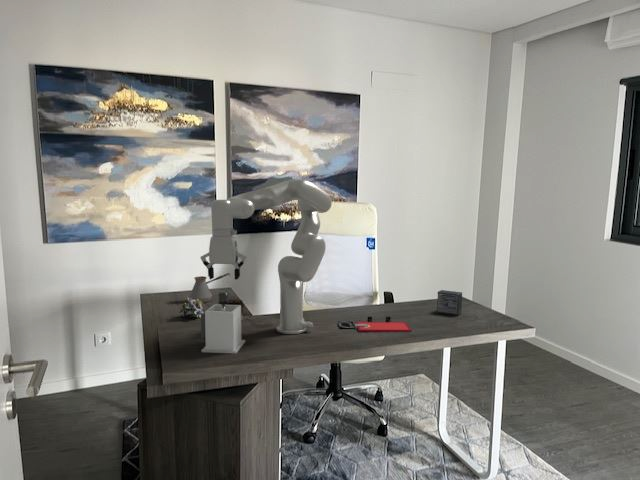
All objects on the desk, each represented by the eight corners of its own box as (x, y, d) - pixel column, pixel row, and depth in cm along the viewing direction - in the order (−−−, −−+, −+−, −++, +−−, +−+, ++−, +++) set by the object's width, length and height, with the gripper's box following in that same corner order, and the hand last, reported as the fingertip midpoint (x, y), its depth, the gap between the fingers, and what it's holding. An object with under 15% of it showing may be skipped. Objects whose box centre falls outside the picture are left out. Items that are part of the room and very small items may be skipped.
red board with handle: (337, 322, 212) (341, 333, 197) (337, 316, 212) (341, 326, 197) (403, 322, 214) (411, 333, 199) (403, 316, 213) (411, 327, 199)
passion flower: (199, 329, 217) (200, 312, 210) (175, 325, 216) (176, 308, 209) (205, 310, 226) (206, 294, 218) (182, 306, 225) (182, 290, 217)
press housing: (245, 341, 184) (244, 304, 182) (236, 353, 171) (235, 313, 169) (208, 340, 185) (207, 303, 184) (196, 351, 172) (195, 312, 171)
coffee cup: (234, 335, 192) (233, 304, 191) (219, 331, 197) (218, 301, 195) (248, 329, 199) (247, 299, 198) (233, 326, 204) (233, 297, 202)
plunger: (237, 341, 182) (236, 290, 179) (231, 348, 173) (230, 295, 171) (216, 340, 182) (216, 290, 180) (210, 347, 174) (208, 295, 172)
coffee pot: (188, 304, 242) (187, 275, 240) (191, 299, 253) (190, 271, 251) (230, 303, 244) (229, 275, 242) (231, 298, 255) (231, 271, 254)
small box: (462, 313, 229) (462, 292, 228) (458, 316, 224) (459, 294, 223) (440, 309, 235) (441, 289, 234) (436, 312, 229) (437, 291, 228)
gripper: (248, 232, 176) (249, 276, 178) (203, 232, 178) (205, 276, 180) (242, 234, 169) (244, 281, 171) (196, 234, 170) (198, 280, 173)
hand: (224, 278), depth 175 cm, fingers open, 9 cm apart
